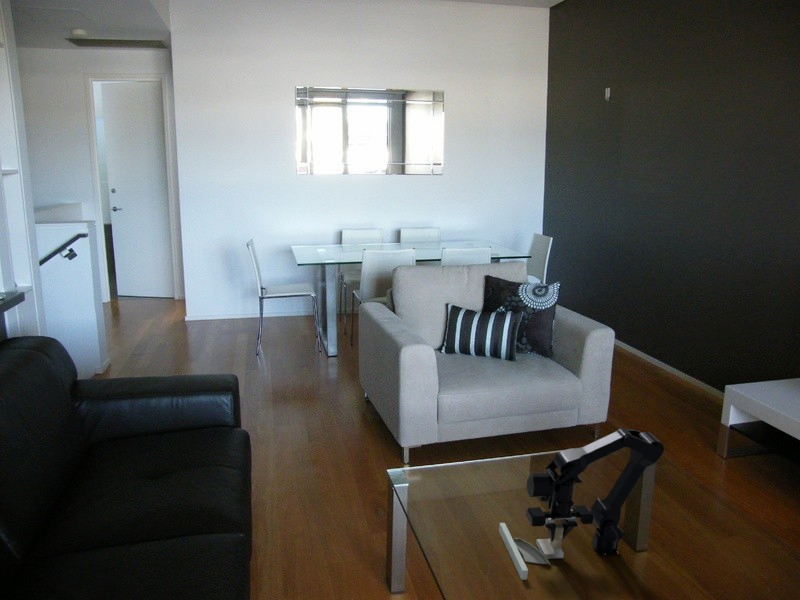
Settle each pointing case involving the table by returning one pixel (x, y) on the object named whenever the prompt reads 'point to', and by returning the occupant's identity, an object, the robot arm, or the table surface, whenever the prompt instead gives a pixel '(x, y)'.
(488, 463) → the table surface
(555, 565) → the table surface
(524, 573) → the stop rail
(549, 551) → the plate with square post
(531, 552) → the ceramic fragment
